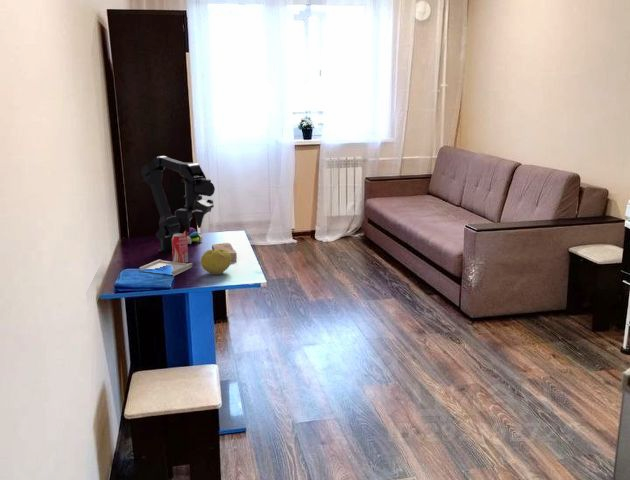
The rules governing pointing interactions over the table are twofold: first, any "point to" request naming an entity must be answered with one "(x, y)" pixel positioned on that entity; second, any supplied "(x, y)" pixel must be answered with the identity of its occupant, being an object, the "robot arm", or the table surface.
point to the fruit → (216, 261)
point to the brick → (228, 248)
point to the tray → (176, 266)
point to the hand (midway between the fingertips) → (193, 229)
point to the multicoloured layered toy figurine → (193, 236)
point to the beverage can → (180, 248)
